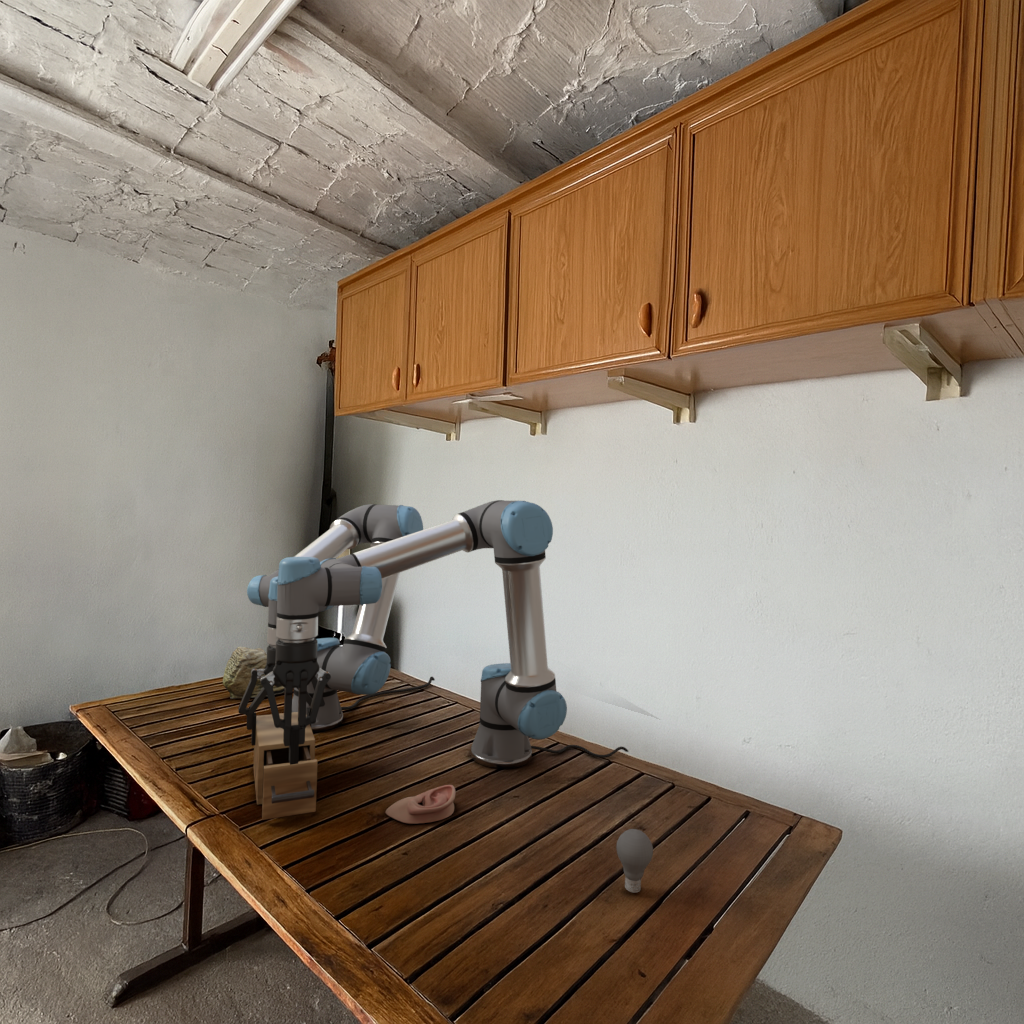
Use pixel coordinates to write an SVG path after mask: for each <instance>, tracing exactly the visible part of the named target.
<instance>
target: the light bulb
mask: <svg viewBox="0 0 1024 1024" xmlns="http://www.w3.org/2000/svg"><path fill="white" fill-rule="evenodd" d="M615 849H616V854H617V857H618V859H619V861H620V863H621V865H622V867H623V873H624V874H623V875H624V876H625V878H624V888H625V890H627V891H628V892H630V893H634V894H635V893H639V892H640V891H641V889H642V887H641V886H642V879H643V877H644V875H645V871H646V868H647V867H648V866H649V864H650V863H651V861H652V859H653V855H654V847H653V843H652V841H651V838H649V836H648V835H647V834H646V833H645V832H643V831H642V830H641V829H636V828H629V829H627V830H625V831H623V832H622V833H621V834H620V835H619V837H618V839H617V841H616V847H615Z"/></svg>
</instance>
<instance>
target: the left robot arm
mask: <svg viewBox="0 0 1024 1024" xmlns="http://www.w3.org/2000/svg"><path fill="white" fill-rule="evenodd" d="M421 530H424V522H423V519H422V516H421V513H420V512H419V511H418V509H416V508H415V507H414V506H408V505H403V504H400V505H397V504H376V503H369V504H363V505H360V506H357V507H355V508H353V509H351V510H349V511H347V512H345V513H344V514H342V515H341V516H339V517H337V518H336V519H335V520H334V521H332V523H331V524H330V525H329V529H328V530H326V531H325V532H324V533H322V534H321V535H320V536H318V537H317V538H316V539H314V540H313V541H312V542H311V543H309V544H308V545H307V546H306V547H304V548H303V549H302V550H301V551H299V552H298V553H297V554H295V555H294V556H293V557H314V558H318V559H319V561H320V562H321V561H323V560H325V559H330V558H336V559H338V558H339V557H340V556H341V555H342V554H343V553H344V552H346V550H352V549H354V548H356V547H357V546H358V545H361V544H370V545H369V546H370V547H373V546H376V545H379V544H382V543H385V542H388V541H391V540H394V539H397V538H400V537H403V536H406V535H409V534H412V533H415V532H418V531H421ZM278 573H279V568H277V569H276V570H274V571H273V572H272V573H270V574H269V575H266V574H262V575H260V574H259V575H256V576H254V577H252V578H251V579H250V581H249V582H248V585H247V588H246V594H247V598H248V600H249V601H250V603H252V604H254V605H256V606H262V607H264V608H267V609H268V612H267V613H268V614H267V615H268V616H267V618H268V619H267V632H266V633H267V637H266V644H268V646H267V647H266V654H267V662H266V666H265V668H264V669H256V668H252V670H251V679H250V681H249V684H248V686H247V689H246V691H245V693H244V696H243V698H241V701H240V703H239V706H238V709H237V710H238V714H239V715H244V716H246V729H247V731H251V739H250V740H251V741H250V742H251V746H253V747H254V745H255V744H256V716H257V712H256V711H257V710H258V708H259V707H260V706H261V704H262V702H263V701H264V700H265V698H266V697H267V696H266V695H267V692H266V690H265V689H264V687H263V688H262V689H261V691H260V692H259V694H258V695H257V696H256V697H254V699H253V701H251V700H250V699H251V698H250V697H251V695H252V693H253V690H254V688H255V685H256V683H257V679H260V678H261V675H263V674H265V676H266V675H267V674H269V673H270V672H272V668H273V666H274V665H275V660H276V642H277V640H278V639H279V638H277V637H276V625H277V587H278V583H277V581H278ZM400 574H401V572H400V573H397V574H395V575H392V576H389V577H386V578H384V579H382V593H381V597H380V599H379V601H378V602H376V603H372V604H364V605H358V610H357V614H356V617H355V621H354V625H353V628H352V632H351V634H349V635H348V636H346V637H345V638H344V640H343V643H342V646H341V645H340V644H341V642H340V640H339V638H337V637H321V638H316V639H317V641H318V645H317V662H318V664H319V666H320V669H322V670H324V671H328V672H329V673H330V675H331V678H330V680H329V681H328V683H327V684H326V686H325V689H324V692H323V696H322V699H321V703H320V707H319V710H318V714H317V718H316V721H315V723H314V724H310V726H311V729H312V732H313V733H316V732H325V731H329V730H332V729H335V728H337V727H339V726H340V725H342V723H343V722H344V714H343V711H351V710H353V709H354V708H356V707H357V706H358V705H359V703H361V702H363V701H366V700H367V699H371V698H374V697H375V698H376V697H380V696H383V695H390V694H397V693H406V692H412V691H417V690H421V689H424V688H427V687H429V686H430V685H431V684H432V682H434V681H436V679H435V678H434V676H430V677H429V679H428V681H427V683H425V684H422V685H417V686H413V687H412V686H411V687H406V688H400V689H391V690H384V691H380V690H381V689H382V688H383V687H384V685H385V684H386V682H387V680H388V678H389V676H390V672H391V666H392V663H391V656H389V654H388V653H386V652H387V645H386V643H385V642H384V637H385V633H386V629H387V626H388V620H389V617H390V613H391V610H392V606H393V601H394V597H395V594H396V590H397V586H398V582H399V578H400ZM334 607H335V606H320V607H319V610H318V613H320V612H325V611H328V610H330V609H332V608H334ZM317 682H318V680H317V674H316V675H315V677H314V678H313V679H312V681H311V682H310V683H309V685H307V695H306V715H307V716H308V713H309V710H310V706H311V703H312V699H313V695H314V692H315V688H316V685H317ZM273 686H276V687H280V686H282V685H281V683H280V682H279V681H278V679H277V678H276V677H274V684H273V685H272V687H273ZM338 691H340V692H346V693H351V694H354V695H358V696H359V695H363V696H362V697H360V698H359V699H357V700H356V701H355V702H354V703H353V704H352V705H349V706H341V702H340V699H339V695H338ZM298 695H299V689H298V688H297V687H296V688H293V695H292V712H298ZM250 701H251V703H250V705H249V706H248V704H249V702H250ZM247 706H248V707H247Z"/></svg>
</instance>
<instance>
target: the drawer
mask: <svg viewBox="0 0 1024 1024" xmlns="http://www.w3.org/2000/svg"><path fill="white" fill-rule="evenodd" d="M317 787H318V759H317V758H315V760H311V757H310V754H309V751H308V748H307V745H306V746H299V756H298V764H291V765H290V762H289V748H281V749H273V750H264V767H263V804H261V805H262V806H261V807H262V808H261V809H262V811H261V820H262V821H265V820H270V819H277V818H278V819H279V818H284V817H290V816H295V815H296V816H297V815H302V814H309V813H315V812H317V790H318V789H317Z"/></svg>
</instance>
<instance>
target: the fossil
mask: <svg viewBox="0 0 1024 1024" xmlns="http://www.w3.org/2000/svg"><path fill="white" fill-rule="evenodd" d="M266 662H267V652H265V650H264V649H263V648H260V647H258V648H251V647H247V646H246V647H245V646H238V647H237V648H236V649H235V650H233V651H232V653H231V656H230V657H229V659H228V660H227V663H226V666H225V668H224V671H223V675H222V676H223V677H222V685H223V687H224V688H225V690H226V691H228V693H229V698H230V699H242V698H243V696H244V693H245V691H246V689H247V686H248V684H249V681H250V679H251V670H252V668H256V669H264V668H265V666H266ZM261 676H265V674H263V675H261ZM262 688H263V686H262V685H261V681H260V679H257V683H256V685H255V688H254V690H253V693H252V695H251V697H250V699H251V698H256V696H257V695H258V694H259V692H260V691H261V689H262ZM273 691H274V695H275V696H276V695H281V694H284V693H285V690H284V687H283V686H280V687H276V686H273ZM266 697H268V696H267V695H266Z"/></svg>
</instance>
